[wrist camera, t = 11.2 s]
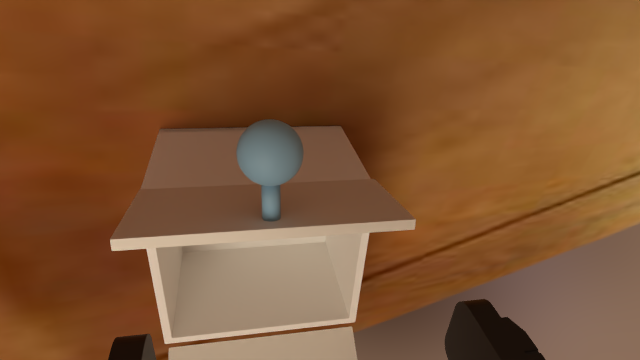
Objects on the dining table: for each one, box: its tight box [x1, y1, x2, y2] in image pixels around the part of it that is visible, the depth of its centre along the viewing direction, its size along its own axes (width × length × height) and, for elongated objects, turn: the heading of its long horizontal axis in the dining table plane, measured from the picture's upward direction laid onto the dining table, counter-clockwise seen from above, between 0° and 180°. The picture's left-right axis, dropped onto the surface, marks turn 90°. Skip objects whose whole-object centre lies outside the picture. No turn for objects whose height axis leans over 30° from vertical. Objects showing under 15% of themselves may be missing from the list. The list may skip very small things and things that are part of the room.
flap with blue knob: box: [110, 119, 416, 251], centre depth 23 cm, size 15×7×6 cm
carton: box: [141, 126, 371, 344], centre depth 36 cm, size 16×14×11 cm
